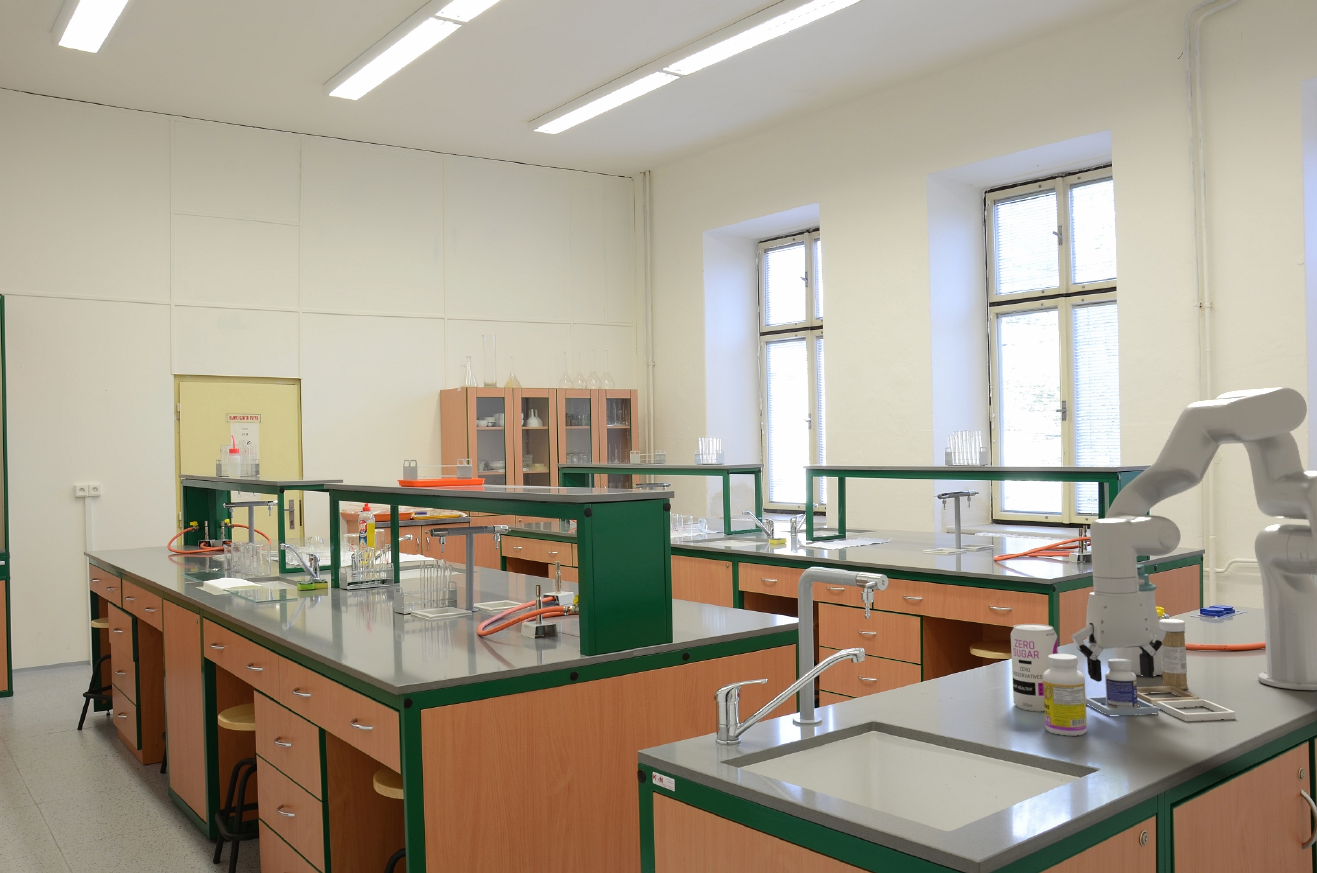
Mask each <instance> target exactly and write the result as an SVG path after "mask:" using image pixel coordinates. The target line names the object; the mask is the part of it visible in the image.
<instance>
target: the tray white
mask: <svg viewBox="0 0 1317 873" xmlns="http://www.w3.org/2000/svg"><path fill="white" fill-rule="evenodd" d="M1156 704H1157V706H1156V707H1158V708H1160V709H1162V710H1164V711H1166V712H1167V713H1166V712H1165V713H1166V714H1169V713H1170V714H1169V715H1171V716H1173V717H1176V718H1177V717H1178V718H1177V719H1180V720H1182V721H1184V722H1197V721H1198V722H1200V721H1202V720H1203V721H1218V720H1219V721H1220V720H1221V719H1224V720H1236V711H1234V710H1231V709H1229V708H1227V707H1223V706H1222V705H1219V704H1217V703H1214V702H1212V701H1209V700H1206V699H1200V698H1199V700H1179V701H1157V702H1156ZM1195 706H1204V707H1203V708H1205V707H1206V709H1208V708H1209V709H1208V710H1210V711H1212V710H1213V711H1212V712H1193V713H1186V712H1184V711H1182V710H1179V709H1180V708H1181V709H1182V708H1184V707H1186V708H1196V707H1195ZM1160 709H1159V710H1160ZM1162 710H1161V711H1162ZM1164 711H1163V712H1164ZM1221 721H1222V720H1221Z"/></svg>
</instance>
